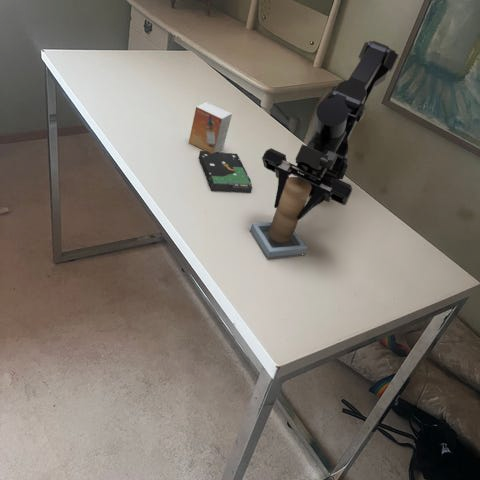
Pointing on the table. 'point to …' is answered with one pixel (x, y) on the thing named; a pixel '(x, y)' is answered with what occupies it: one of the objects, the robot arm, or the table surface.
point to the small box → (209, 127)
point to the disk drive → (225, 172)
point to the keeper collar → (276, 243)
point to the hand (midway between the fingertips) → (286, 213)
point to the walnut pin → (289, 209)
